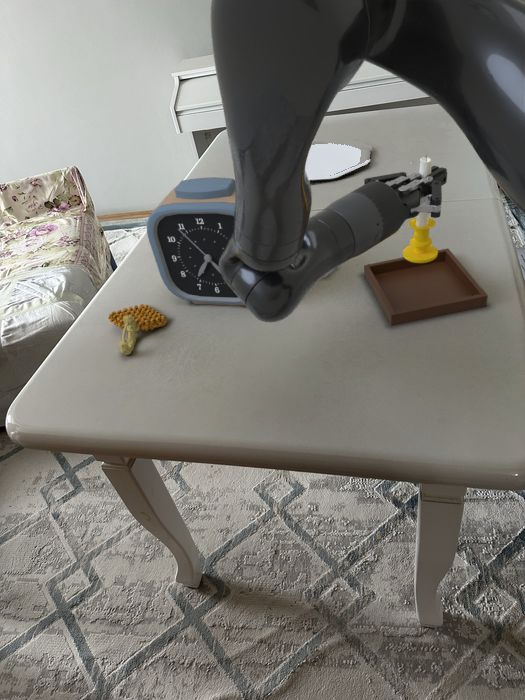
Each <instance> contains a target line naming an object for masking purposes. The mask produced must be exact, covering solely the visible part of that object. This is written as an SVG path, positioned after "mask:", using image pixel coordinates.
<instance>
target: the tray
mask: <svg viewBox="0 0 525 700" xmlns="http://www.w3.org/2000/svg"><path fill="white" fill-rule="evenodd" d="M437 250H438V256H437V257H436V258H435V259H434V260H432V261H430V262H426V263H414V262H410V261H408V260H406V259H405V258H404V256H402V257H397V258H394V259H388V260H383V261H378V262H373V263H368V264H364V265H363V276H364V278H365V280H366V282H367V284H368V286H369V287H370V290H371V291H372V293H373V295H374V297H375V299H376V301H377V302H378V304H379V306H380V308H381V310H382V313H384V316H385V317H386V320H387V321H388V323H389V325H390V326H391V327H393V326H397V325H402V324H407V323H412V322H417V321H422V320H427V319H432V318H437V317H442V316H446V315H451V314H456V313H461V312H466V311H471V310H476V309H477V310H478V309H482V308H487V303H488V297H489V295H488V294H487V293H486V292H485V290H484V289H483V288H482V287H481V285H480V284H479V283H478V282H477V281H476V280H475V278H474V277H473V276H472V275H471V273H470V272H469V271H468V270H467V269H466V267H465V266H464V265H463V264H462V263H461V262H460V261H459V259H458V258H457V257H456V256H455V255H454V254H453V252H452V251H451V250H450V249H449V248H443V249H437Z"/></svg>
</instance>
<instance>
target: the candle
mask: <svg viewBox="0 0 525 700" xmlns="http://www.w3.org/2000/svg"><path fill="white" fill-rule="evenodd" d="M419 159H420V161H419V170H418V171H419V174H420V177H422V178H424V177H426V176H427V175H429V174H431V167H432V159H431V158H430V157H429V156H427V154H425V156H422V157H420V158H419ZM423 175H424V176H423ZM427 199H428V198H427ZM425 200H426V199H425ZM425 200H424V201H425ZM429 214H430V213H427V212H420V213H419V214H418V215H417V216H416V217H414V218H411V219H409V221H408V226H409V228H411V229H413V230H414V231H413V237H411V238H410V240H409V245H407V246H406V247H405V248H404V249H403V250H402V257H404V258H405V259H406V260H408V261H410V262H414V263H426V262H430V261H432V260H434V259H435V258H436V257H437V256H438V250H439V249H438V248H437V247H436V246H434V245H432V244H433V240H432V238H431V237H430V236H429V235H430V229H433V228H434V227H435V226H436V224H437V223H436V221H435V220H434V218H432V217H430V215H429Z"/></svg>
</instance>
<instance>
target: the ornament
mask: <svg viewBox="0 0 525 700" xmlns="http://www.w3.org/2000/svg"><path fill="white" fill-rule="evenodd" d="M108 321H109V322H110V323H112V324H113V325H114V326H116V327H119V328H120V329H122V333H121V337H122V338H121V340H120V341H119V342H118V346H119V351H120V352H121V353H122V354H123V355H124V356H129V355H131V354H132V352H133V351H134V348H135V345H136V342H137V335H138V332H143V331H144V332H148V331H149V330H150V331H152V330H154V329H155V328H156V329H158V328H160V327H164V326H166V324H167V323H168V320H167V318H166V316H165V315H163V314H162V313H161V312H159V310H155V309H154V308H152V307H151V306H149V305H148V304H143V303H141V304H139V306H138V305H137V304H136V305H134V307H133V306H129V307H125V308H123V309H118V310H117V311H112V312H111V313H109V314H108ZM126 334H127V339H126Z"/></svg>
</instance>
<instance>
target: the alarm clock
mask: <svg viewBox="0 0 525 700" xmlns="http://www.w3.org/2000/svg"><path fill="white" fill-rule="evenodd" d="M234 212H235V178H231V177H230V178H229V177H212V176H211V177H199V178H198V177H197V178H190V179H183V180H181V181H180V182H179V183H178V184H177V185H176V186H175V187H173V188H172V189H171V190H170V191H169V192H168V193H167V195H166V196H165V197H164V198H163V199H162V201H161V202H159V204H158V205H157V206H156V207H155V208H154V210H153V211H152V212H151V213H150V214H149V216H148V219H147V221H146V235H147V238H148V243H149V246H150V247H151V251H152V255H153V257H154V261H155V263H156V266H157V269H158V272H159V275H160V277H161V280H162V282H163V284H164V285H165V287H166V288H167V290H168V291H170V292H171V294H173V295H174V296H175V297H177V298H179V299H181V300H183V301H190V302H192V304H196V305H197V304H198V305H222V306H244V307H247V306H246V305H245V304H244V303H243V302H242V301H241V300H240V298H239V297H238V296H237V295H236V294H235V293H234V291H233V290H232V289H231V288H230V287H229V286H228V285H227V283H226V282H225V281H224V279H223V277H222V275H221V273H220V269H219V259H220V257H221V255H222V253H223V251H224V250H225V248H226V246H227V244H228V242H229V240H230V238H231V236H232V234H233V232H234Z"/></svg>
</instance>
